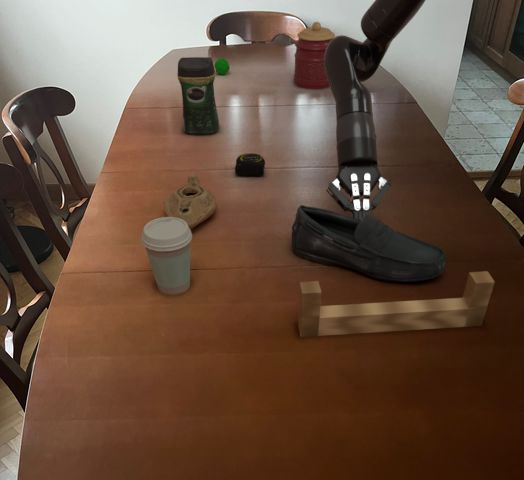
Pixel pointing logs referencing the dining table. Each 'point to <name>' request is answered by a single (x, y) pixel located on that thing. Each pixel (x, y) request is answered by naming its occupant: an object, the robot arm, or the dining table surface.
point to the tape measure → (250, 165)
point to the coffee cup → (169, 253)
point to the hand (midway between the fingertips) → (362, 231)
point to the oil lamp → (190, 202)
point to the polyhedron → (222, 66)
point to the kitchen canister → (312, 57)
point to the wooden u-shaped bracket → (393, 311)
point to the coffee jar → (198, 95)
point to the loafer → (364, 246)
